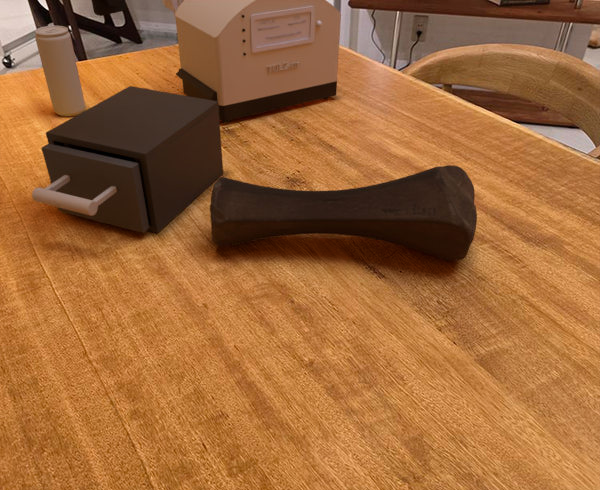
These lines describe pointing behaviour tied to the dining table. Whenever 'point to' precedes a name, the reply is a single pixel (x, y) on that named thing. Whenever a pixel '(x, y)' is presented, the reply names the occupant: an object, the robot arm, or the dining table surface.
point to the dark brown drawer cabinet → (154, 144)
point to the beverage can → (60, 70)
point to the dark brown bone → (355, 212)
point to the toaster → (257, 52)
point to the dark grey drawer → (95, 186)
